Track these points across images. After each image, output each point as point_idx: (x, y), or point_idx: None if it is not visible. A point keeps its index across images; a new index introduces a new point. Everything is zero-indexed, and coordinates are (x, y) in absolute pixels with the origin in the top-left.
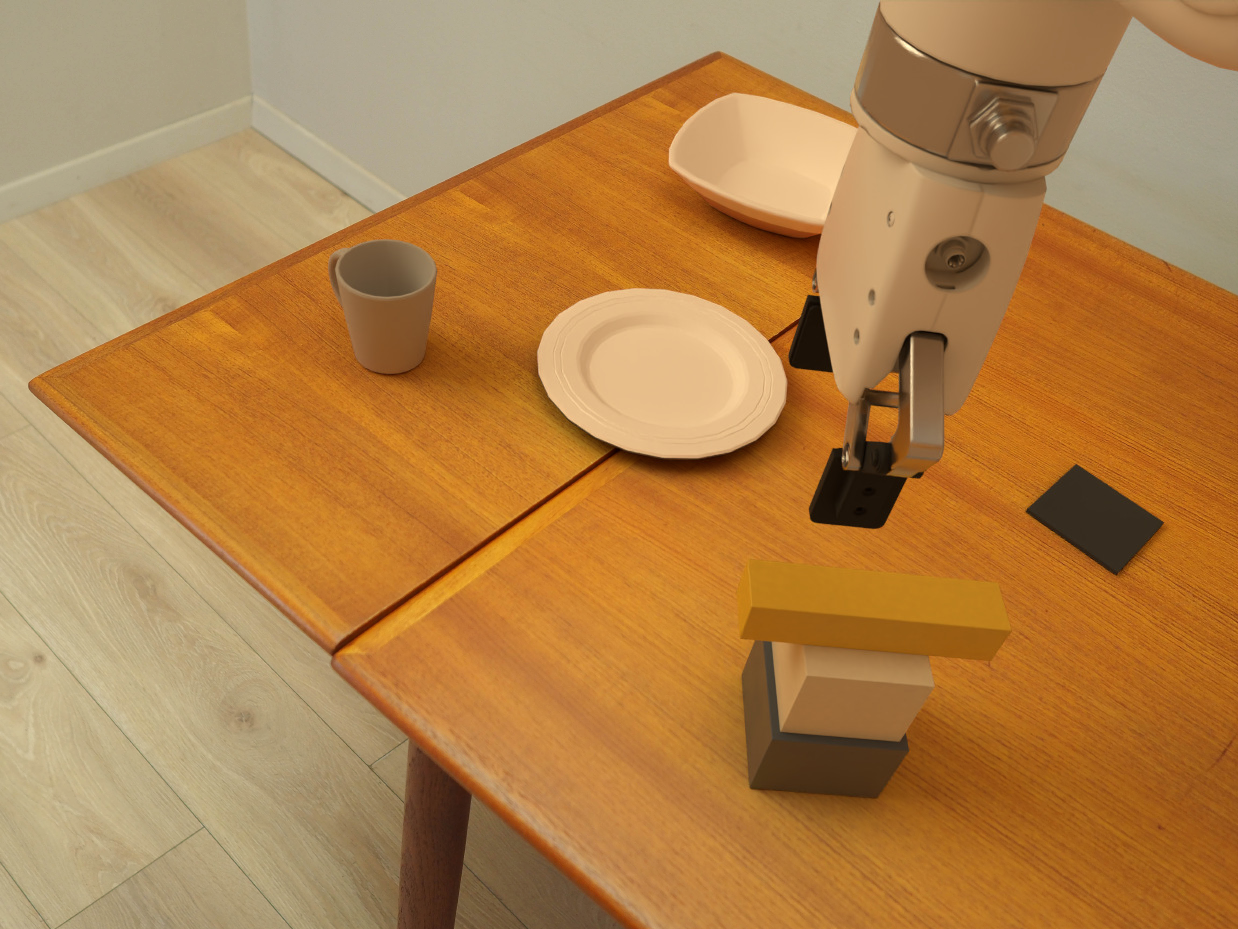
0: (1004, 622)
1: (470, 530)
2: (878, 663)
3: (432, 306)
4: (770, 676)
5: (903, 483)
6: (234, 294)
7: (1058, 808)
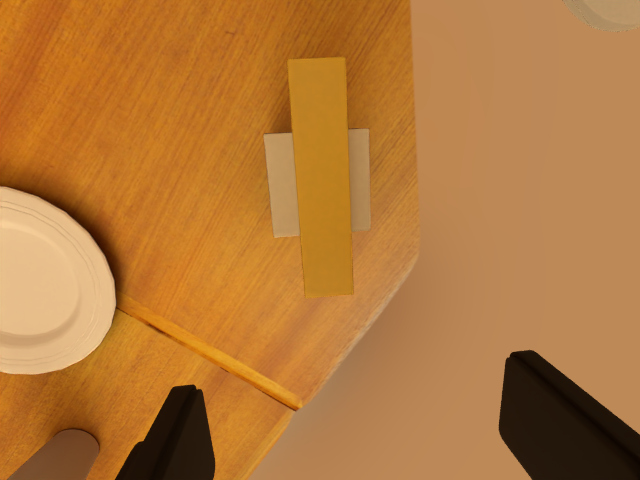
0: (336, 63)
1: (209, 373)
2: (353, 174)
3: (35, 466)
4: None
5: (625, 425)
6: None
7: (340, 3)
